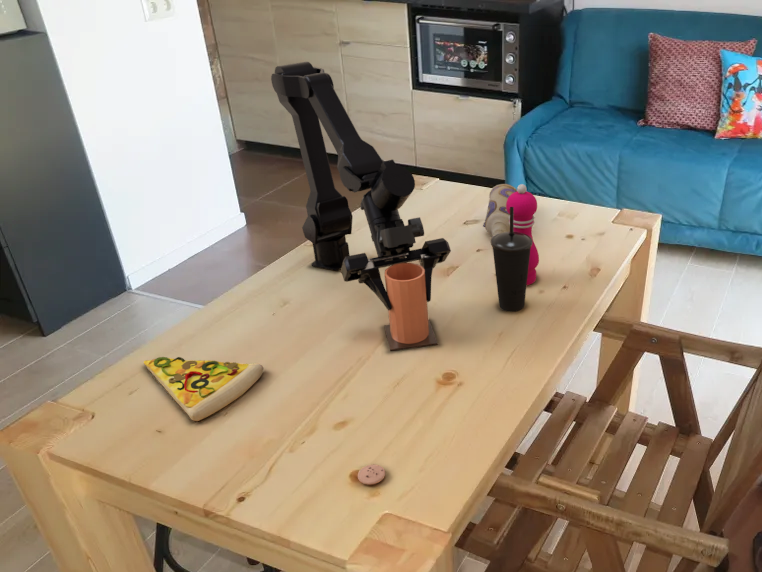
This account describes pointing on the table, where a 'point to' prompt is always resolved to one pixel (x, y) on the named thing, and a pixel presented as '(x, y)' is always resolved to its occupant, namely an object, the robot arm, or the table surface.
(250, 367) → the pizza slice
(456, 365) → the table surface
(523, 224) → the pepper mill
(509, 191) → the decorative bottle
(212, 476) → the table surface
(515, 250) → the drinking cup
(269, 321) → the table surface
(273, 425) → the table surface
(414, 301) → the peach cup
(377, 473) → the cookie
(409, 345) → the walnut coaster
